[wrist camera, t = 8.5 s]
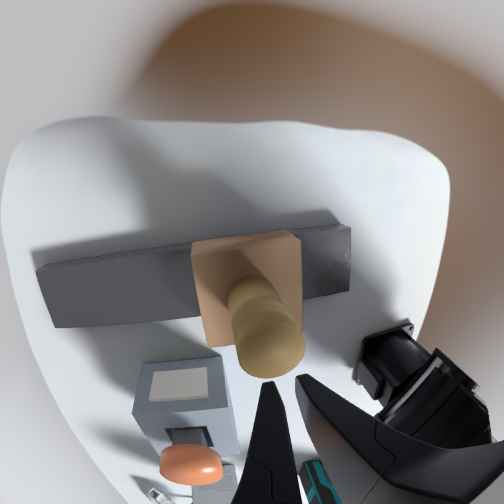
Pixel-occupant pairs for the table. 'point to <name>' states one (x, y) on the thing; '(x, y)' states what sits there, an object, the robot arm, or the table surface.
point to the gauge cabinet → (186, 403)
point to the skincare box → (217, 489)
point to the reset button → (190, 459)
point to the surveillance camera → (318, 484)
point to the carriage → (252, 298)
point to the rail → (171, 281)
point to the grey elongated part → (158, 497)
